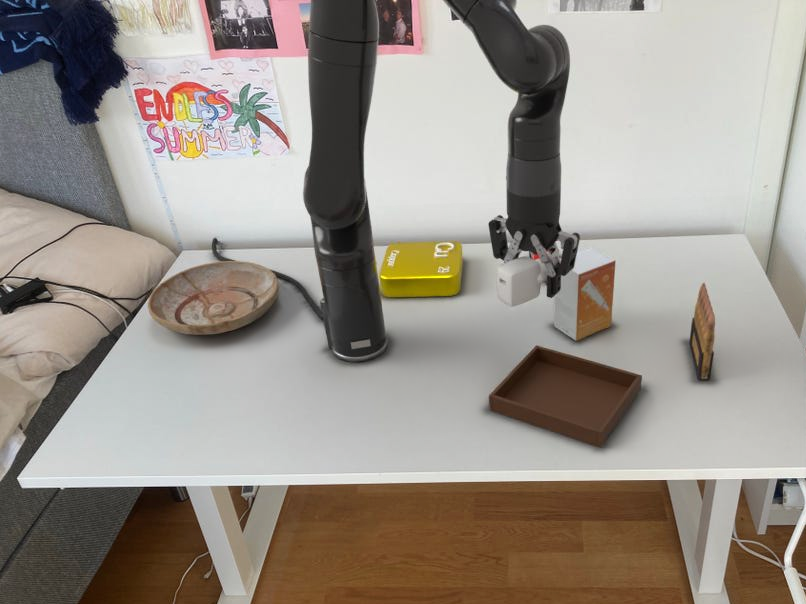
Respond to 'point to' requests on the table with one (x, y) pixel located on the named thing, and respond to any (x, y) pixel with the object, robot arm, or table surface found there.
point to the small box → (586, 295)
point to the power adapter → (520, 280)
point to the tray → (566, 395)
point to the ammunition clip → (702, 336)
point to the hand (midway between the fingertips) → (532, 289)
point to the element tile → (422, 269)
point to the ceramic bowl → (214, 297)
